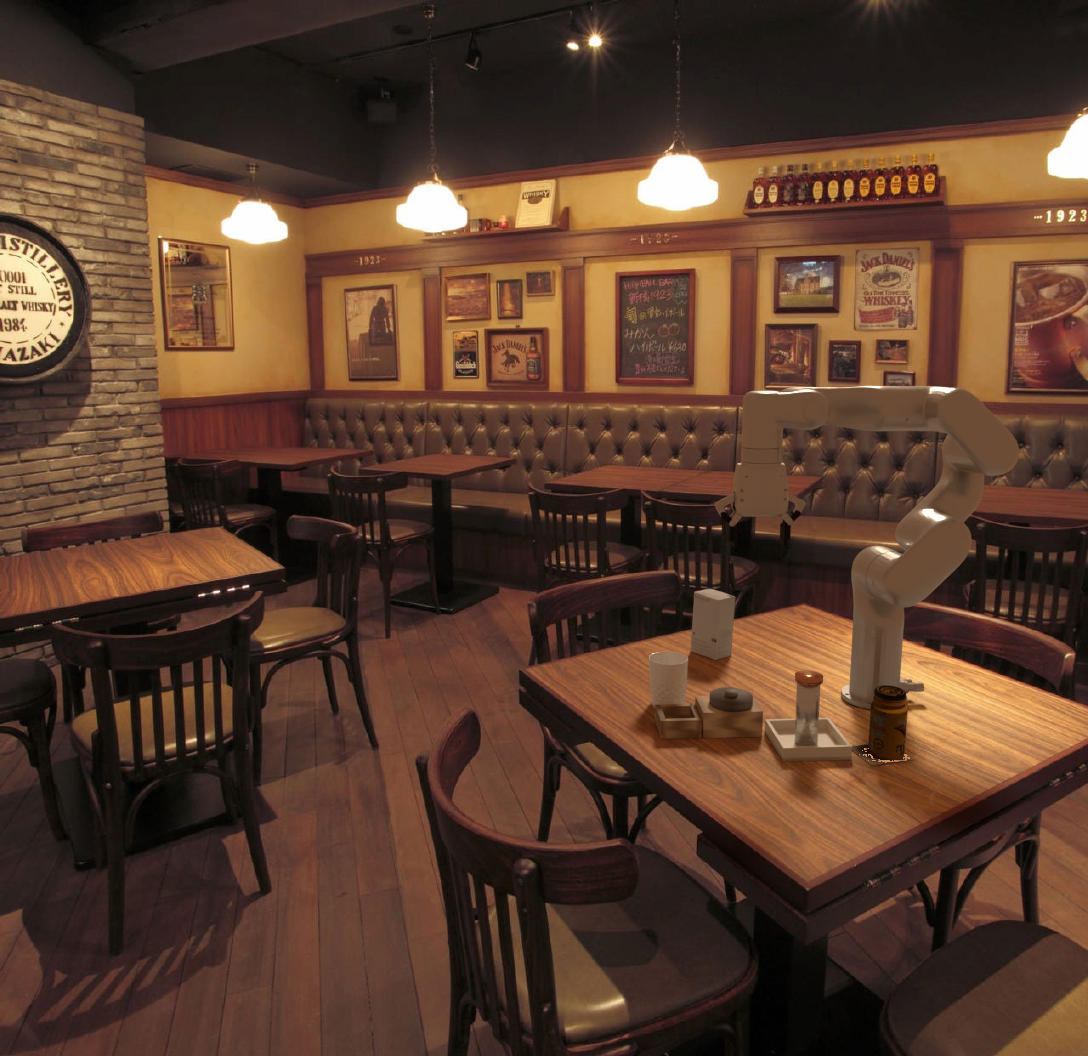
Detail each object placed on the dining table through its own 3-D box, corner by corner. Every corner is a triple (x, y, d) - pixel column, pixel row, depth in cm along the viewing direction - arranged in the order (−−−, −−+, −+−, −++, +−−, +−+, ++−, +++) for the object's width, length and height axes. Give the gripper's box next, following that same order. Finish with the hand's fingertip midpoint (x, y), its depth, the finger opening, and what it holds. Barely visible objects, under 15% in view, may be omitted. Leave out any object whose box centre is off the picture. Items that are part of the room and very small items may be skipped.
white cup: (686, 713, 172) (687, 665, 170) (646, 711, 173) (647, 663, 171) (688, 698, 179) (689, 652, 177) (650, 695, 181) (650, 650, 179)
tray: (828, 730, 163) (828, 717, 163) (851, 759, 151) (852, 746, 151) (764, 731, 163) (765, 719, 162) (782, 761, 151) (783, 748, 151)
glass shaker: (815, 737, 159) (818, 670, 156) (823, 749, 154) (826, 679, 152) (789, 737, 159) (791, 670, 156) (796, 749, 154) (799, 680, 152)
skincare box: (690, 651, 207) (691, 591, 204) (707, 646, 210) (708, 587, 207) (716, 661, 200) (718, 599, 197) (734, 655, 204) (736, 594, 201)
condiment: (915, 760, 151) (920, 695, 148) (871, 766, 149) (875, 700, 147) (889, 742, 158) (893, 680, 155) (848, 748, 156) (851, 685, 154)
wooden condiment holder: (751, 718, 169) (752, 682, 167) (762, 736, 161) (763, 699, 160) (654, 721, 169) (655, 685, 167) (661, 739, 161) (661, 701, 159)
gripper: (800, 453, 168) (797, 539, 172) (712, 455, 168) (710, 541, 172) (813, 458, 161) (809, 548, 164) (720, 460, 161) (718, 550, 164)
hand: (758, 544), depth 168 cm, fingers open, 9 cm apart
